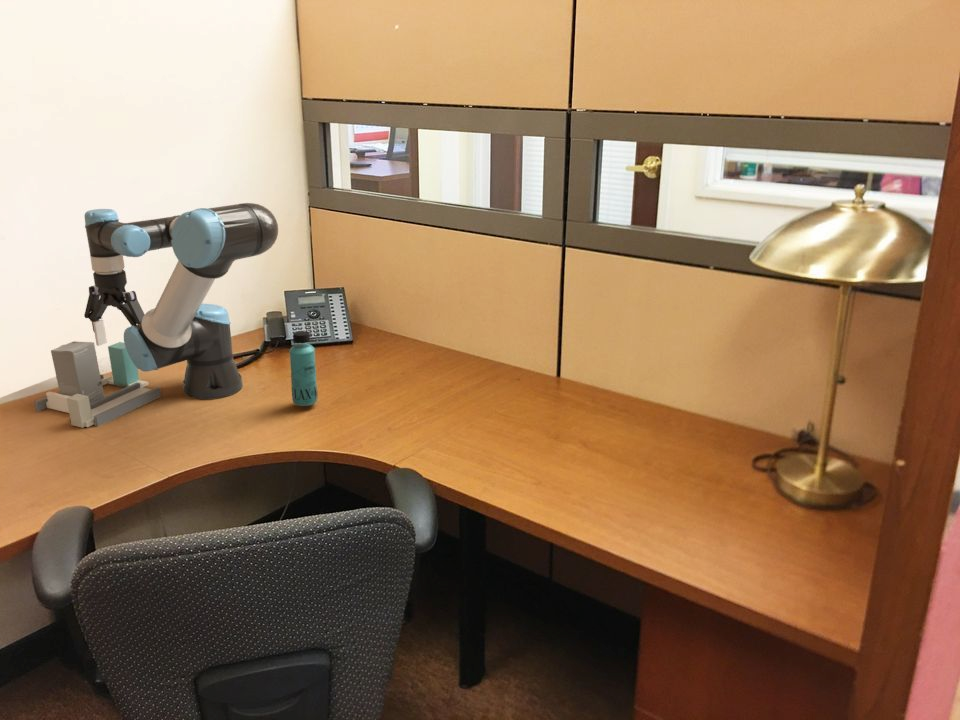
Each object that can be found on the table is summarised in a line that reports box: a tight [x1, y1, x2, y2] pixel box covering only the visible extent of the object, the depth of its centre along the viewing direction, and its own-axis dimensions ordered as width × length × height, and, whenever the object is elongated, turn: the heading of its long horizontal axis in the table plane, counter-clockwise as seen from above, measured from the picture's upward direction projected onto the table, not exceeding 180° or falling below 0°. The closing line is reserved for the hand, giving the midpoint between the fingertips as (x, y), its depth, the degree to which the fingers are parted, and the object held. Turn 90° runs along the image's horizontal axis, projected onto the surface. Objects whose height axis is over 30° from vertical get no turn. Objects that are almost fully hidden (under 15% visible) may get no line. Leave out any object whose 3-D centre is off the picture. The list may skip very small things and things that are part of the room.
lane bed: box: [34, 374, 162, 427], centre depth 193 cm, size 21×20×2 cm
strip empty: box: [67, 387, 152, 429], centre depth 189 cm, size 5×22×7 cm, turn 157°
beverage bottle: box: [289, 330, 319, 407], centre depth 191 cm, size 6×7×20 cm
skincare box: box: [50, 340, 105, 403], centre depth 190 cm, size 8×7×16 cm
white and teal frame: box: [46, 341, 149, 414], centre depth 195 cm, size 11×22×11 cm, turn 157°
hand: (120, 348), depth 202 cm, fingers open, 13 cm apart
